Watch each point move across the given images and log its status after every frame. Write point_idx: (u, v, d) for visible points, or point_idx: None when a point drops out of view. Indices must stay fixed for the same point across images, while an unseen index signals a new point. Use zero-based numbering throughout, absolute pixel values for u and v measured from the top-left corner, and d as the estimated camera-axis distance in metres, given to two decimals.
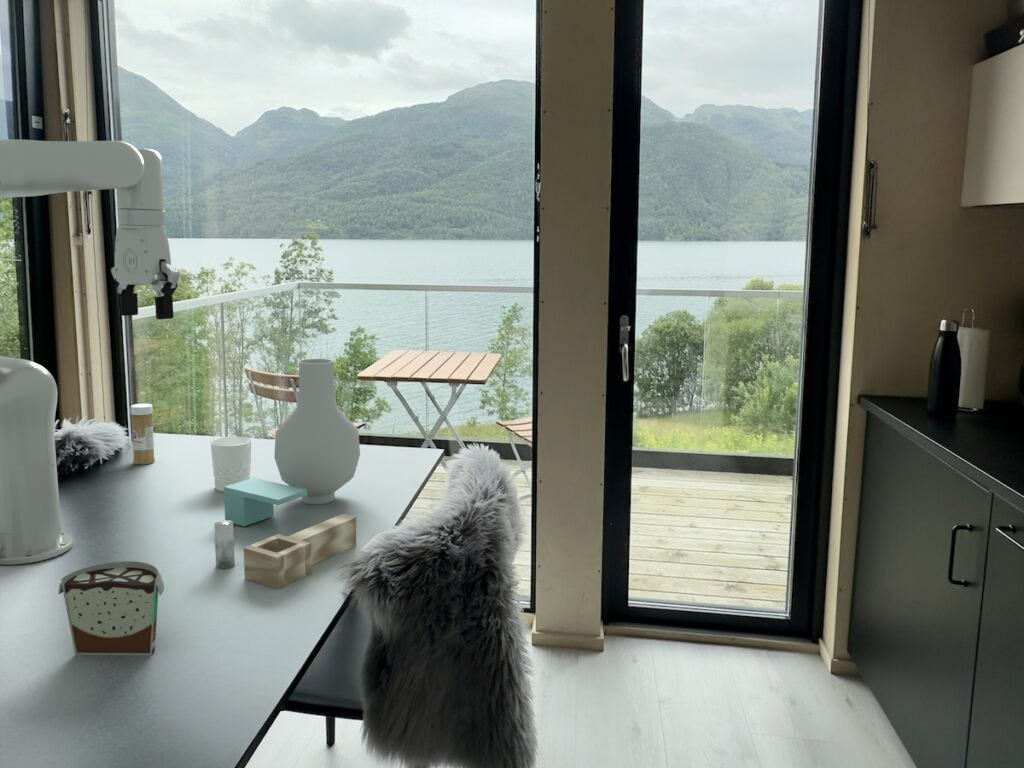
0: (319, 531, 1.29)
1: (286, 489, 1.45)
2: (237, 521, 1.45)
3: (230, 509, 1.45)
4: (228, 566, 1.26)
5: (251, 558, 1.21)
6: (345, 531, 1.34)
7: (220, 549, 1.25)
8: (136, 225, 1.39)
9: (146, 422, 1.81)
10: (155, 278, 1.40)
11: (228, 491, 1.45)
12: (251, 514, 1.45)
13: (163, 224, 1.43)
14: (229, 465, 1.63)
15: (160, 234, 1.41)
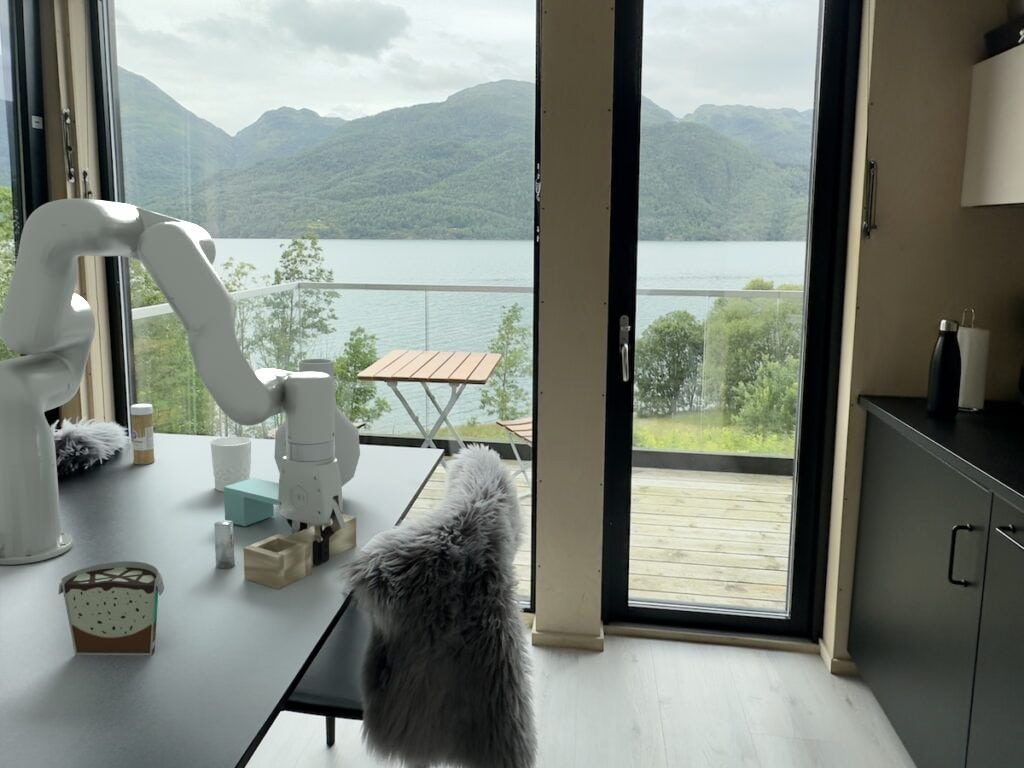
0: None
1: None
2: (237, 521, 1.45)
3: (230, 509, 1.45)
4: (228, 566, 1.26)
5: (251, 558, 1.21)
6: (345, 531, 1.34)
7: (220, 549, 1.25)
8: (308, 461, 1.24)
9: (146, 422, 1.81)
10: (328, 518, 1.25)
11: (228, 491, 1.45)
12: (251, 514, 1.45)
13: (334, 453, 1.27)
14: (229, 465, 1.63)
15: (333, 468, 1.25)
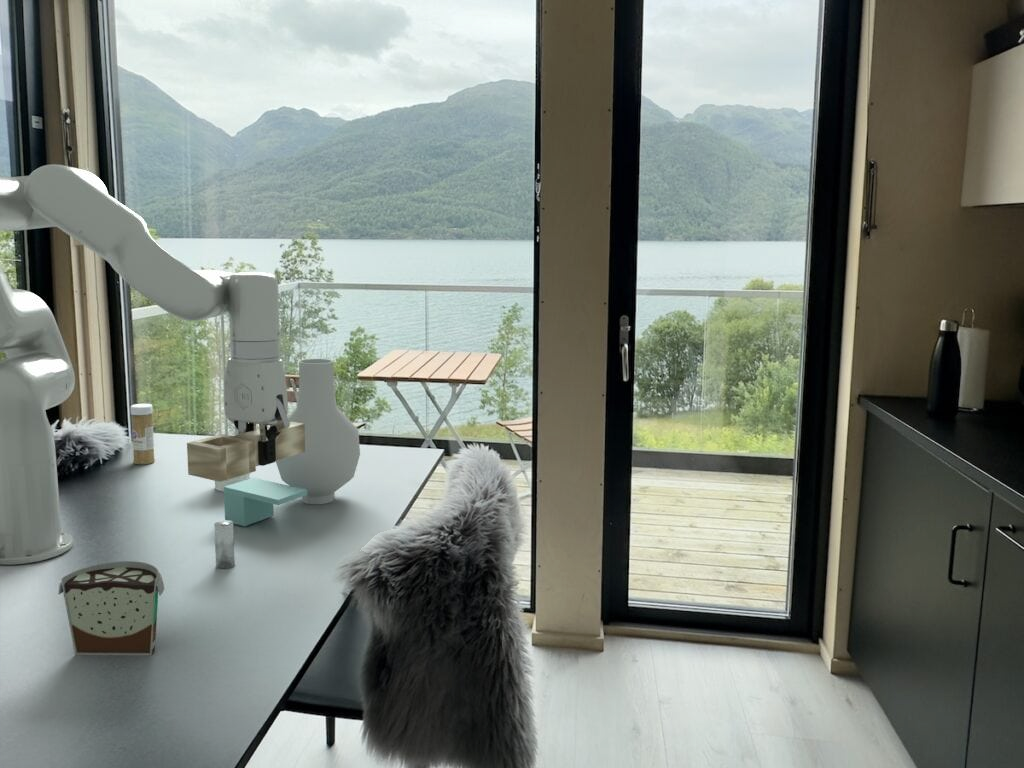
0: None
1: (286, 489, 1.45)
2: (237, 521, 1.45)
3: (230, 509, 1.45)
4: (228, 566, 1.26)
5: (194, 453, 1.22)
6: (293, 436, 1.35)
7: (220, 549, 1.25)
8: (252, 359, 1.25)
9: (146, 422, 1.81)
10: (272, 417, 1.26)
11: (228, 491, 1.45)
12: (251, 514, 1.45)
13: (279, 354, 1.28)
14: None
15: (277, 367, 1.26)
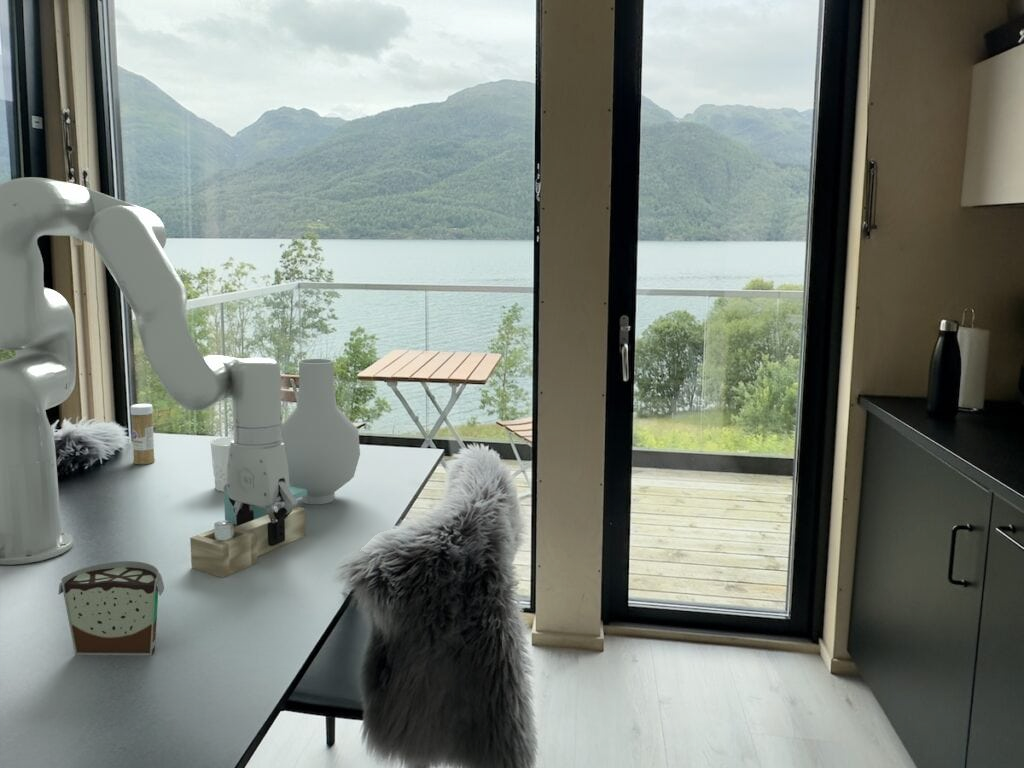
0: (266, 522, 1.33)
1: None
2: None
3: (230, 509, 1.45)
4: None
5: (197, 547, 1.25)
6: (294, 522, 1.38)
7: None
8: (254, 445, 1.27)
9: (146, 422, 1.81)
10: (274, 500, 1.28)
11: None
12: None
13: (281, 437, 1.31)
14: None
15: (279, 452, 1.29)
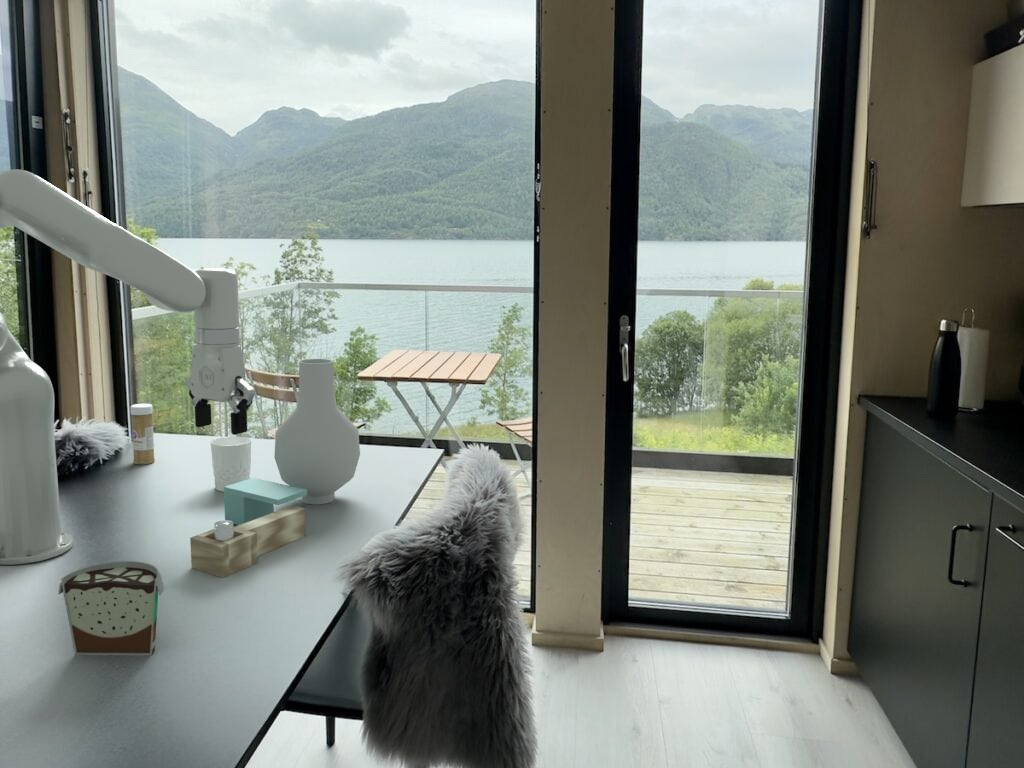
0: (266, 522, 1.33)
1: (286, 489, 1.45)
2: (237, 521, 1.45)
3: (230, 509, 1.45)
4: None
5: (197, 547, 1.25)
6: (294, 522, 1.38)
7: None
8: (213, 344, 1.42)
9: (146, 422, 1.81)
10: (231, 395, 1.43)
11: (228, 491, 1.45)
12: (251, 514, 1.45)
13: (238, 340, 1.46)
14: (229, 465, 1.63)
15: (236, 352, 1.44)
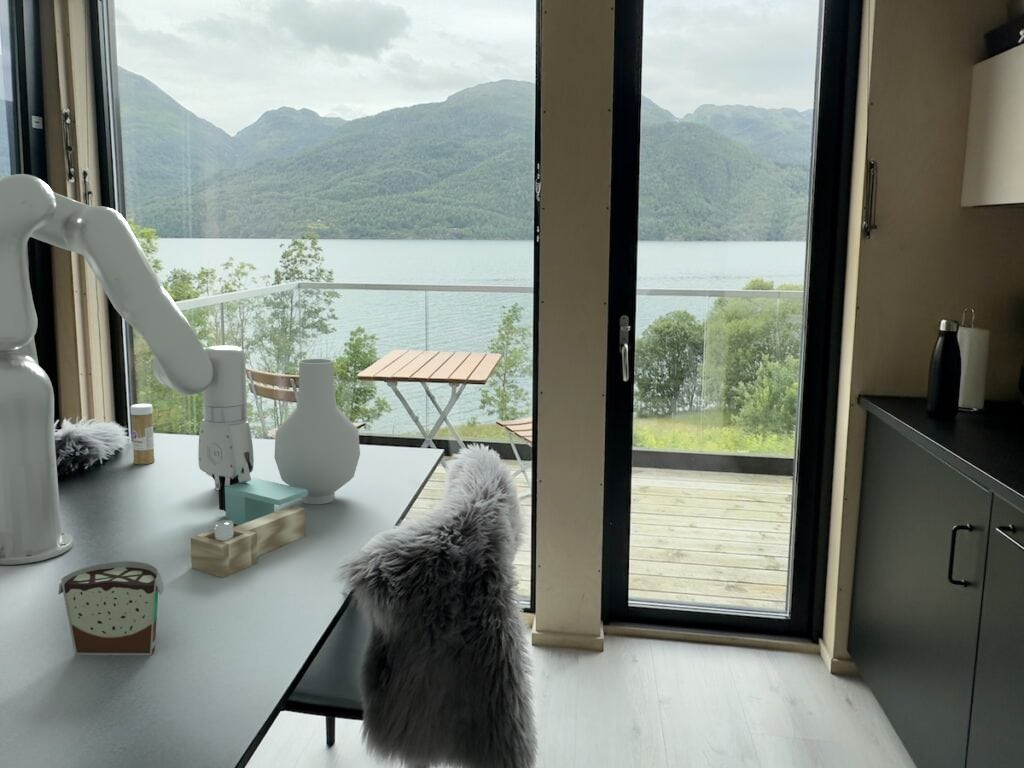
0: (266, 522, 1.33)
1: (287, 489, 1.45)
2: (238, 521, 1.45)
3: (231, 509, 1.45)
4: None
5: (197, 547, 1.25)
6: (294, 522, 1.38)
7: None
8: (222, 422, 1.44)
9: (146, 422, 1.81)
10: (239, 471, 1.45)
11: (229, 491, 1.45)
12: (252, 514, 1.45)
13: (246, 416, 1.48)
14: None
15: (244, 428, 1.46)
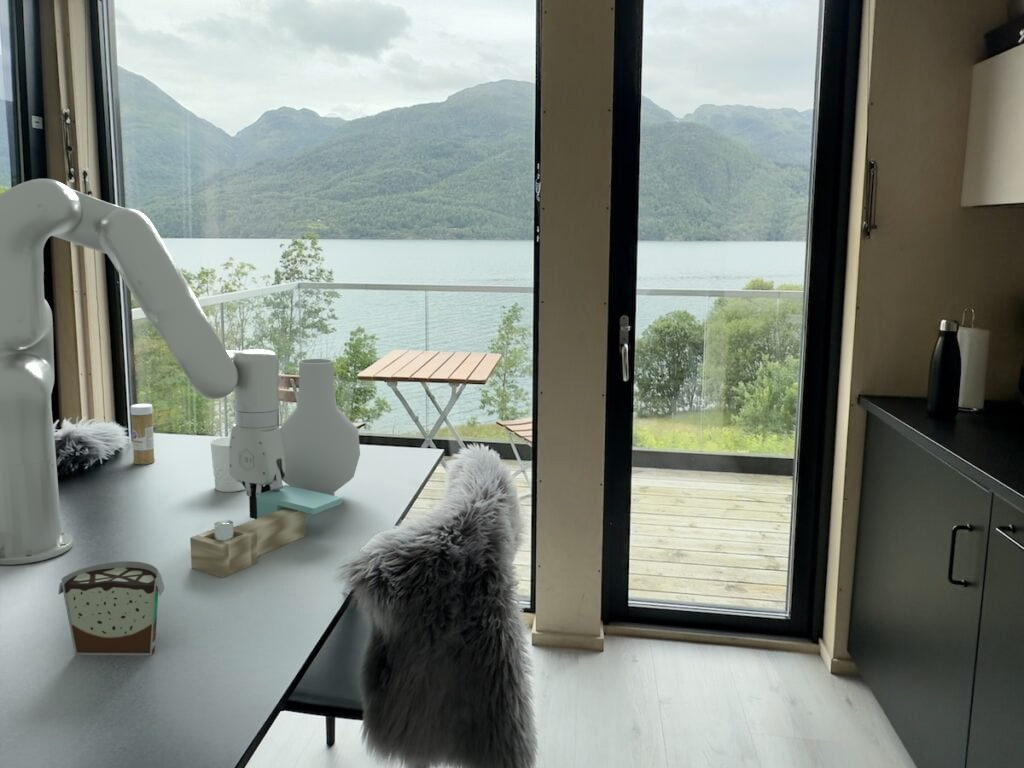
0: (266, 522, 1.33)
1: (321, 497, 1.41)
2: None
3: None
4: None
5: (197, 547, 1.25)
6: (294, 522, 1.38)
7: None
8: (255, 428, 1.40)
9: (146, 422, 1.81)
10: (272, 479, 1.42)
11: (261, 499, 1.41)
12: None
13: (278, 422, 1.44)
14: None
15: (277, 434, 1.42)
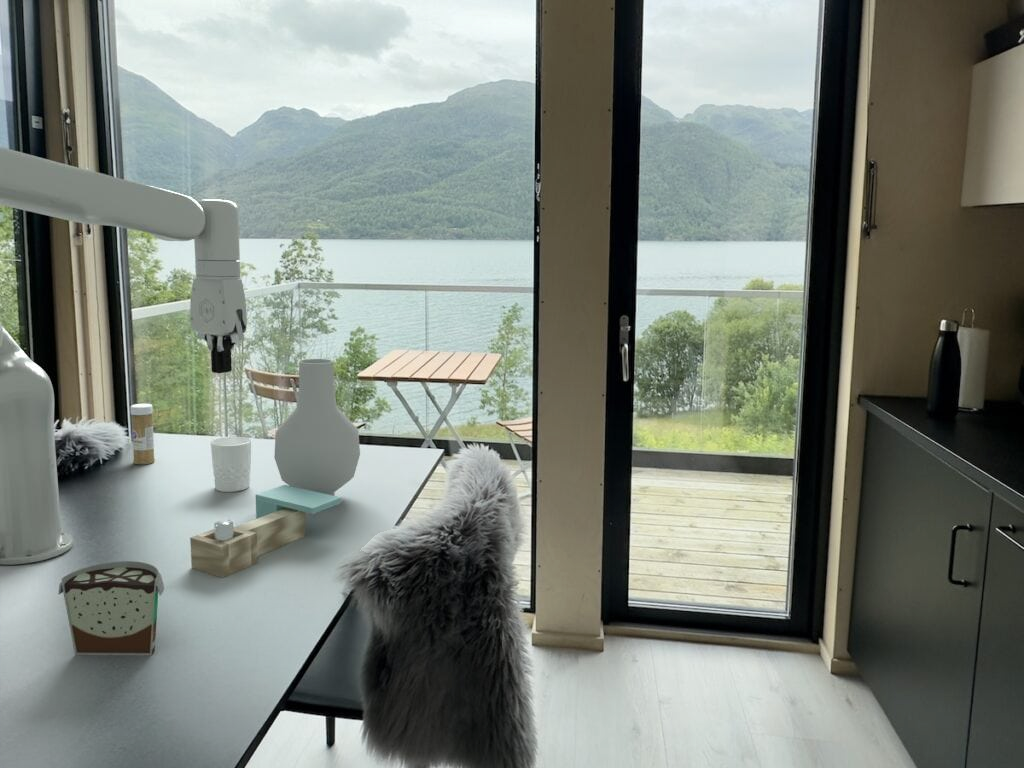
0: (266, 522, 1.33)
1: (320, 496, 1.41)
2: None
3: None
4: None
5: (197, 547, 1.25)
6: (294, 522, 1.38)
7: None
8: (214, 276, 1.40)
9: (146, 422, 1.81)
10: (232, 328, 1.41)
11: (260, 499, 1.41)
12: None
13: (239, 274, 1.44)
14: (229, 465, 1.63)
15: (237, 284, 1.42)
